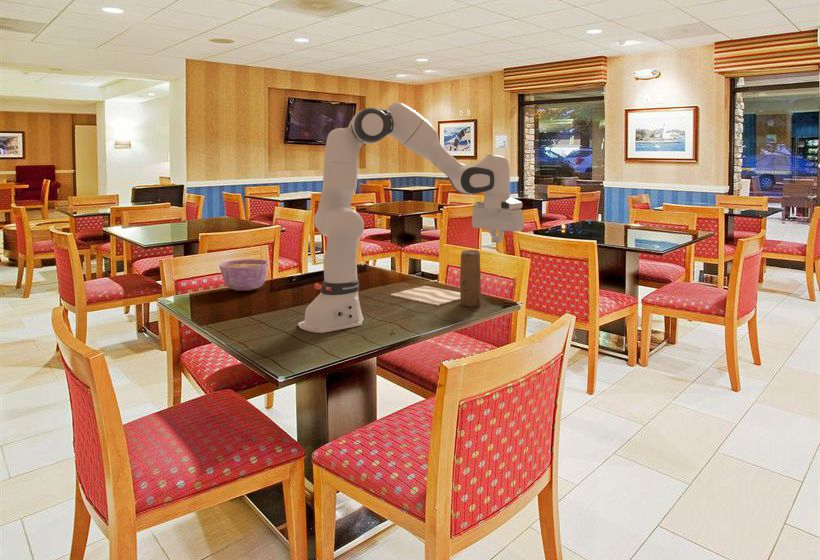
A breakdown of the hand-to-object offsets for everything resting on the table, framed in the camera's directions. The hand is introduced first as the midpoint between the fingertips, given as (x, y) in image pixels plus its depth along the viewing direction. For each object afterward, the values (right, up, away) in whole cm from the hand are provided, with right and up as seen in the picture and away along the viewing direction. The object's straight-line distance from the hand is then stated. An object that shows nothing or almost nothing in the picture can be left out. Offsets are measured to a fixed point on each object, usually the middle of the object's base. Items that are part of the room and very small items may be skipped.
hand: (496, 242), depth 216 cm
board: (-22, -20, +27) cm, 40 cm away
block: (-8, -22, +13) cm, 27 cm away
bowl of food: (-100, -18, +45) cm, 111 cm away
